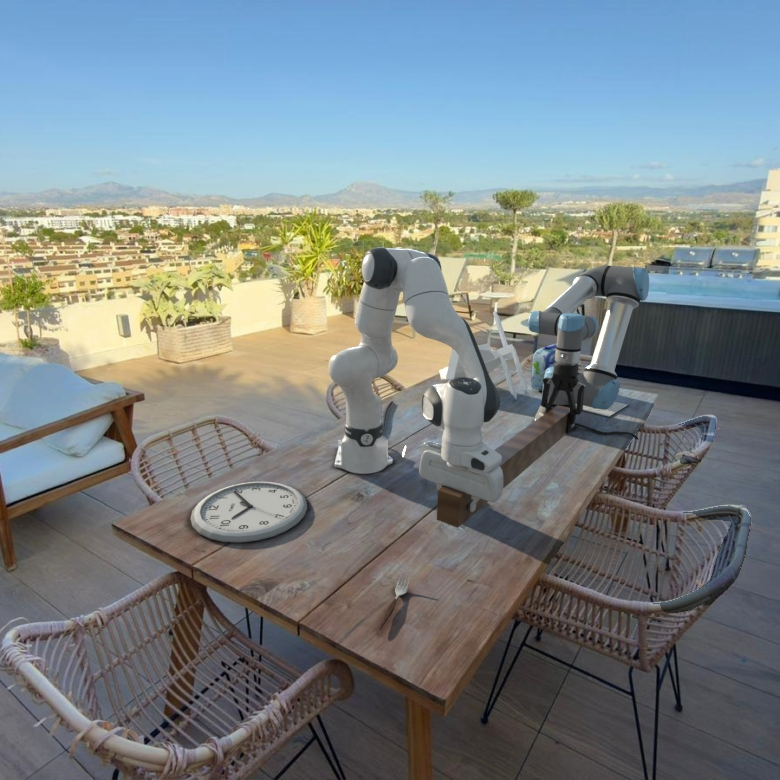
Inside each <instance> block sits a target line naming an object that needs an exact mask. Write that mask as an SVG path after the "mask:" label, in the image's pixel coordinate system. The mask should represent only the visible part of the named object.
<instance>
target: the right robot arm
mask: <svg viewBox="0 0 780 780" xmlns="http://www.w3.org/2000/svg"><path fill="white" fill-rule="evenodd" d="M649 291H650V276H649V272H648V270H647V269H646V268H644V267H637V266H623V265H608V264H607V265H599V266H595V267H593V268H590V269H588V270H586V271H584V272H582V273H581V274H579V275H578V276H577V277H575V279H574V280H573V281H572V283H571V285H570V287H568V288H567V289H566V290H565V291H564V292H563V293H561V294H560V296H559V297H558V298H557V299H555V300H554V301H553V302H552V303H551V304H550V305H548V306H547V307H546V309H544V310H543V311H542V310H533V311H532V312H531V313H530V314H529V316H528V320H527V328H528V330H529V332H531V333H535V334H538V335H547V336H555V337H556V343H555V344H556V352H555V361H556V362H555V363H554V367H550V368H548V369H546V371H545V375H544V379H543V390H541V391H542V394H541V400H540V401H541V402H540V405H539V407H538V410H537V411H536V413H535V416H534V421H533V422H535V421H536V420H537V419H539V418H540V417H542V416H543V415H544V414H546V413H547V412H549V411H550V410H551V409H553V408H554V407H556V406H557V405H559V406H564V407H568V408H570V414H568V418H567V427H566V435H569V434H570V433H571V432H572V430H574V429H575V428H576V426H577V427H579V428H583V429H586V430H588V431H592V432H595V433H597V434H601V435H626V436H631V437H633V438H634V439H635V440H639V437H638V436H637V435H636V434H634V433H633V432H629V431H617V430H614V431H602V430H598V429H595V428H593V427H591V426H586V425H584V424H581V423H577V422H576V417H577V415H578V416H580V415H581V414H582V413H583V411H584V410H583V405H584V406H588V407H592V408H594V409H602V410H606V409H608V408H610V407H611V406H612V405H613V403H614V402H616V400H617V398H618V395H619V393H620V387H621V382H620V380H618V379H617V378H618V374H617V373H616V371H615V370H616V368H617V367H616V366H617V363H618V360H619V358H620V357H619V356H620V354H621V350H622V347H623V343H624V340H625V336H626V334H627V330H628V326H629V323H630V321H631V317H632V313H633V310H634V309H636V308H638V307H639V305H640V302H643V301H646V300H647V298H648V296H649ZM594 297H603V298H604V297H605V301H606V303H607V308H606V311H605V315H604V318H603V321H602V325H601V328H600V324H599V321H598V320H597V318H595V316H593V315H589V314H587V315H585V314H581V313H575V311H577V310H578V308H580V307H581V306H582V305H583V304H584V303H585V302H586V301H587V300H591V299H593V298H594ZM599 329H600V331H599ZM598 332H599V335H598V338H597V341H596V343H595V348H594V351H593V354H592V358H591V360H590V364H589V365H587V366H585V367H584V368H583V372H579V368H580V365H579V363H580V360H581V359H580V358H581V353H582V352H581V350H582V344H583V341H585V340H589V339H591V338H593V337H595V335H597V333H598ZM576 406H577V409H576ZM571 426H572V428H571Z"/></svg>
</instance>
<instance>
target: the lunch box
mask: <svg viewBox="0 0 780 780" xmlns="http://www.w3.org/2000/svg"><path fill="white" fill-rule="evenodd" d="M556 344H557V343H553V344H550V345H547V346H546V345H545V346H544V347H541V348H538V349H537V350H536V351H535V352H534V354H533V357H532V362H531V371H530V372H531V374H530V387H531V389H533V390H539V391H543V379H544V375H545V371H546V369H548V368H550V367H554V363H555V362H556V361H555V352H556Z"/></svg>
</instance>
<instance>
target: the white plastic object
mask: <svg viewBox="0 0 780 780" xmlns="http://www.w3.org/2000/svg"><path fill="white" fill-rule="evenodd" d="M492 315H493V319H494V321H495V324H496V325H495V326H496V328H497V332H498V335H499V338H500V342H501V345H502V347H500V348H498V349H496V350H495V349H493V348H492V347H491V346H490V344H489V343H488V342H487V343H483V344H479V345H478V344H477V345H478V348H479V350H480V353H481V356H482V358H483V361H484V363H485V366H486V369H487V371H488V374H489V375H490V373H492V372H494V371H495V370H496V369H497V368H499V367H500V366H502V370H503V373H504V376H505V380H506V383H507V386H508V390H509V393H510V394H511V395H512V397H513V398H514V399H515V400H517V392H516V391H517V390H516V388H515V385H514V381H513V378H512V375H511V371H510V369H509V365H508V361H510V360H513V363H514V366H515V369H516V372H517V376H518V380H519V382H520V385H521V389H522V391H523V393H524V395H525V396H526V397H528V396H531V395H530V390H529V388H528V387H529V386H528V384H527V381H526V378H525V375H524V371H523V369H522V368H523V367H522V366H521V362H520V359H519V355H518V352H517V349H516V347H515V346H514V345H513V343H511V344H508V341H507V337H506V334H505V331H504V328H503V325H502V321H501V318H500V315H499V314H498V312H497V311H496V310H495V311H492ZM438 372H439V376H440V381H442V383H443V384H444V383H448V381H449V380H451V379H453V378H456V377H466V374H465V372H464V369H463V366H462V364H461V361H460V358H459V356H458V354H457V352H456V351H455V350H454V349H453V348H452V347H451V353H450V357H449V362H448V366H446V367H444V368H442V369H440V370H439V371H438Z"/></svg>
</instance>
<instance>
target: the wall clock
mask: <svg viewBox="0 0 780 780" xmlns="http://www.w3.org/2000/svg"><path fill="white" fill-rule="evenodd" d="M307 503H308V502H307V499H306V498H305V496H304V495H303V493H301V492H300V491H298V490H297V489H295V488H294V487H291V486H289V485H286V484H283V483H280V482H279V483H278V482H272V481H249V482H248V481H247V482H242V483H238V484H232V485H229V486H226V487H223V488H220V489H218V490H216V491H213V492H211V493H210V494H208V495H207V496H205V497H204V498H202V499H201V500H200V501H199V502H198V503H197V504H196V505H195V507H194V508H193V509H192V511H191V515H190V523H191V526H192V528H193V529H194V531H196V532H197V533H198V534H199V535H201V536H203V537H205V538H208V539H210V540H214V541H218V542H222V543H239V544H240V543H249V542H256V541H262V540H265V539H269V538H274V537H276V536H278V535H280V534H282V533H286V532H287V531H289V530H290V529H292V528H293V527H295V526H296V525H298V524H299V523H300V522H301V521H302V519H303V518H304V517H305V516H306V513H307V510H308V504H307Z"/></svg>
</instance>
